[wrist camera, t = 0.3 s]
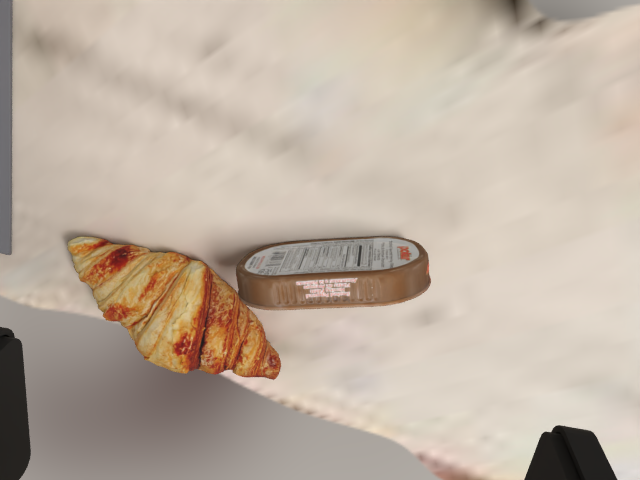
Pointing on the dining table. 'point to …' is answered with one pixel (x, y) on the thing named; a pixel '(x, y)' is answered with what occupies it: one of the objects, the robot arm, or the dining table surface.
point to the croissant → (174, 309)
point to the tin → (333, 273)
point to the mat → (5, 126)
